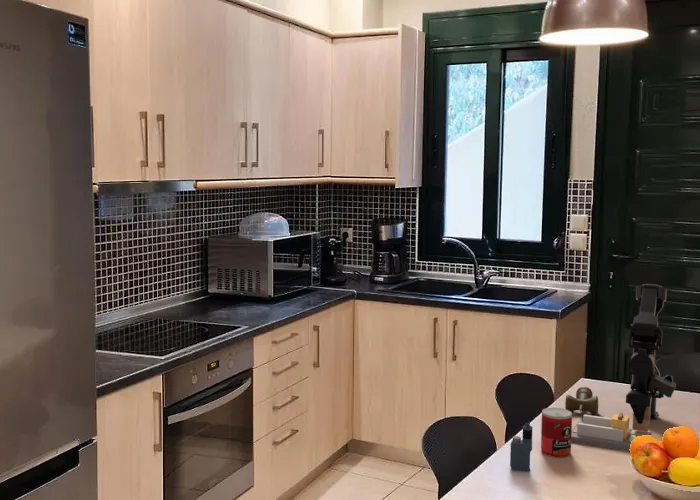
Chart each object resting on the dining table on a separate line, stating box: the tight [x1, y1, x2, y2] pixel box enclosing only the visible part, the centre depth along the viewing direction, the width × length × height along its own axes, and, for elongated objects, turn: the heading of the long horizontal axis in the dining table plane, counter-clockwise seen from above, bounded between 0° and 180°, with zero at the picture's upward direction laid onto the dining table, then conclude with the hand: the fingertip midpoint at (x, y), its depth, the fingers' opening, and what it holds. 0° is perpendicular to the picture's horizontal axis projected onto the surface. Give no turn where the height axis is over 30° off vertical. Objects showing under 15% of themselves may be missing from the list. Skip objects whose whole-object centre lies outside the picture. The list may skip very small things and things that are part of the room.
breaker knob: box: [611, 412, 630, 439], centre depth 220 cm, size 5×4×6 cm
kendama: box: [564, 386, 599, 416], centre depth 248 cm, size 6×10×20 cm
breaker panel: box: [571, 414, 652, 452], centre depth 222 cm, size 14×20×4 cm
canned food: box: [540, 407, 573, 458], centre depth 211 cm, size 8×8×11 cm
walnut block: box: [631, 405, 651, 432], centre depth 222 cm, size 4×4×7 cm
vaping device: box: [509, 422, 533, 472], centre depth 199 cm, size 3×5×12 cm, turn 78°
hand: (641, 421), depth 222 cm, fingers closed on walnut block, 4 cm apart
